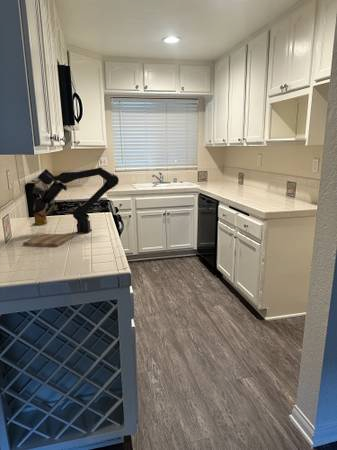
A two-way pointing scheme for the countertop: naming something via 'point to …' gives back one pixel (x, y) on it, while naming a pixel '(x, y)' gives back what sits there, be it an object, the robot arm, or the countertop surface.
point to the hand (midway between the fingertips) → (35, 212)
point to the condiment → (40, 218)
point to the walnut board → (48, 240)
